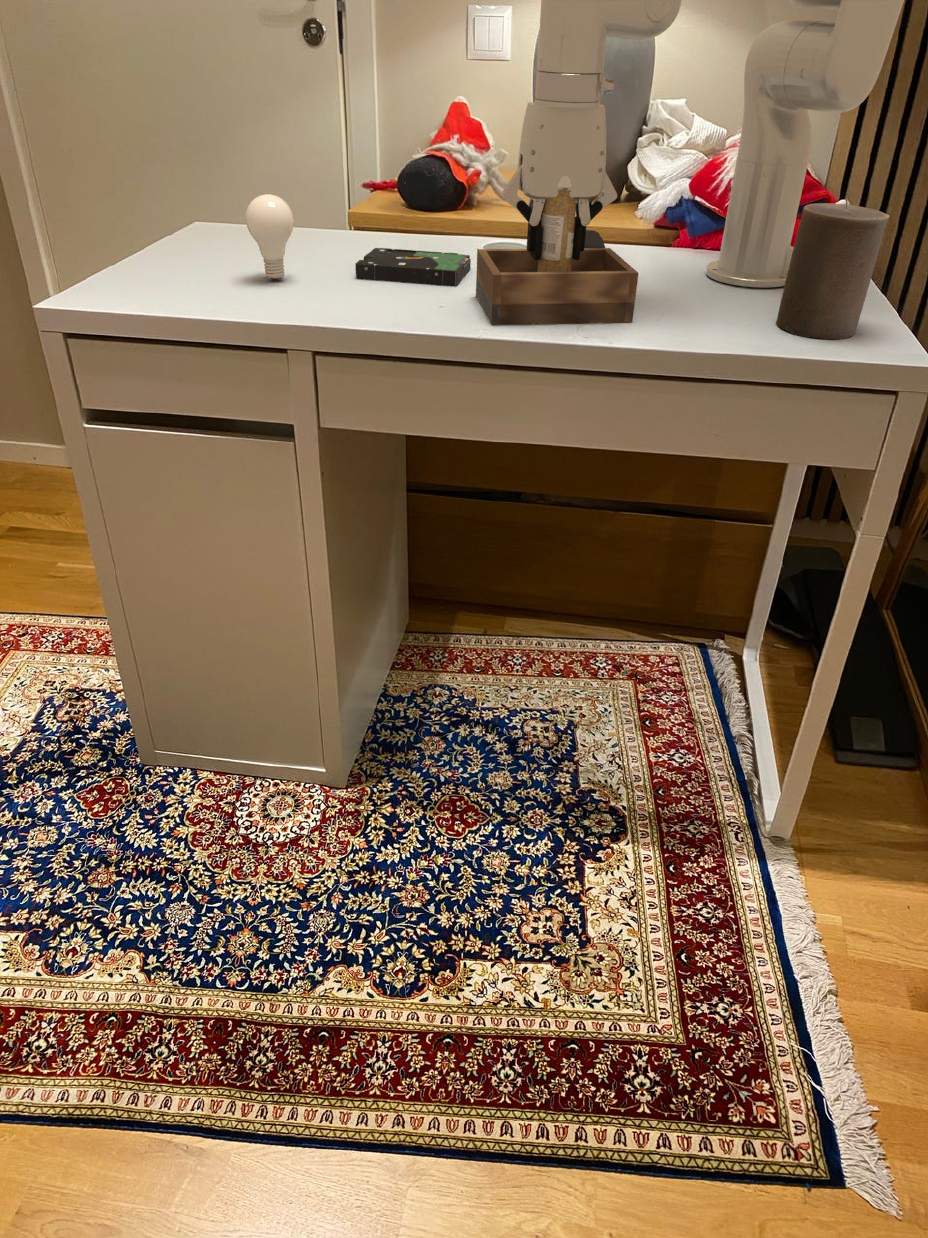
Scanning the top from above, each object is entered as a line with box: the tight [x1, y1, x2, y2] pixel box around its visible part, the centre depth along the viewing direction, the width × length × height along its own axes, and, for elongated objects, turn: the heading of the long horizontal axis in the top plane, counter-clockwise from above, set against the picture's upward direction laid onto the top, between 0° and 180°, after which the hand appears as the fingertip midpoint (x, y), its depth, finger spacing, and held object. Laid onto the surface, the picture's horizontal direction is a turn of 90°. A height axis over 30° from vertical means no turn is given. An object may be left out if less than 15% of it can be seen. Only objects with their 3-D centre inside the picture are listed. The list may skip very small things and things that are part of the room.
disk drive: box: [354, 247, 472, 288], centre depth 130 cm, size 10×3×15 cm
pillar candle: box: [775, 198, 891, 340], centre depth 109 cm, size 10×10×15 cm
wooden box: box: [475, 247, 639, 326], centre depth 115 cm, size 18×13×6 cm
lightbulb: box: [245, 193, 295, 282], centre depth 122 cm, size 6×6×11 cm
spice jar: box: [537, 176, 577, 272], centre depth 111 cm, size 5×5×14 cm
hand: (554, 255), depth 113 cm, fingers closed on spice jar, 4 cm apart
